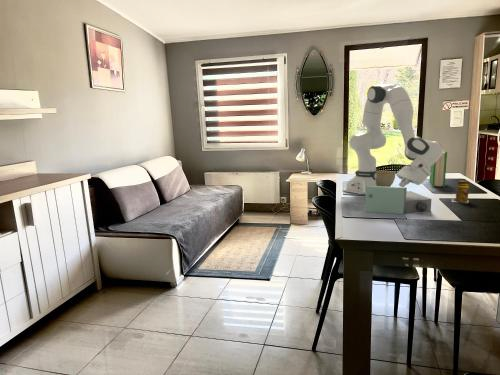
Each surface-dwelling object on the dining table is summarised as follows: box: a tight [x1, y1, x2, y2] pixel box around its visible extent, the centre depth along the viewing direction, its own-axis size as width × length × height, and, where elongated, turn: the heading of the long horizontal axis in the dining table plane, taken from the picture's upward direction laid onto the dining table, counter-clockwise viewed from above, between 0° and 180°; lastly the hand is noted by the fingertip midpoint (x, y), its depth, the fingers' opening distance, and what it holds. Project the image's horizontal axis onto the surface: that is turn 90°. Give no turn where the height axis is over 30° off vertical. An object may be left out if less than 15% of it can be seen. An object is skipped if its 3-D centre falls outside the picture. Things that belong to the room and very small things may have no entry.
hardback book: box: [429, 148, 448, 188], centre depth 257 cm, size 18×7×24 cm, turn 161°
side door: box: [364, 186, 408, 215], centre depth 195 cm, size 20×2×14 cm, turn 67°
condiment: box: [451, 179, 470, 204], centre depth 213 cm, size 7×8×12 cm
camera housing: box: [404, 190, 433, 215], centre depth 202 cm, size 22×14×7 cm, turn 8°
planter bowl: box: [376, 170, 397, 187], centre depth 255 cm, size 16×16×11 cm
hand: (400, 186), depth 201 cm, fingers closed
